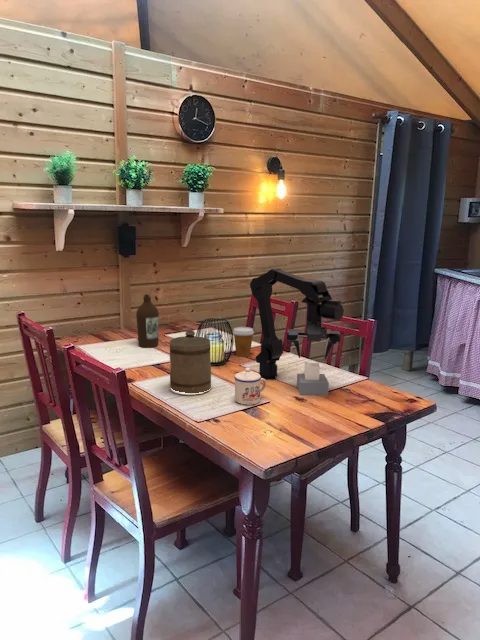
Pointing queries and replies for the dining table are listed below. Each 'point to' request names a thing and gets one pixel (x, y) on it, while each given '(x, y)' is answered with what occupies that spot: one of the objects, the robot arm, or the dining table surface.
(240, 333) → the disposable coffee cup
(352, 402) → the dining table surface
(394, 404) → the dining table surface
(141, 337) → the olive oil
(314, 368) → the cream cube
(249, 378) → the teacup with lid
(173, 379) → the wooden container
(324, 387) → the gray square block
